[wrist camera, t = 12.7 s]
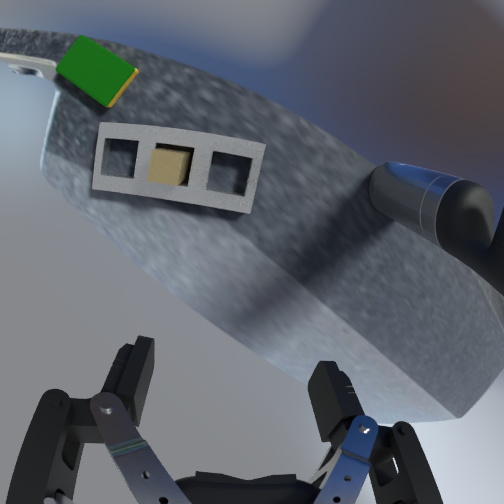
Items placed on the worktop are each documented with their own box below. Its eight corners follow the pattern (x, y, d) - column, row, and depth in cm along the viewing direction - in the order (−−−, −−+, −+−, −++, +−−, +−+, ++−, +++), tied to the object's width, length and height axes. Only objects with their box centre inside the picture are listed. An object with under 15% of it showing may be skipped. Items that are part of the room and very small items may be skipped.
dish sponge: (87, 37, 27) (80, 33, 25) (140, 71, 32) (135, 68, 29) (61, 72, 29) (54, 69, 27) (111, 108, 33) (105, 107, 31)
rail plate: (263, 144, 37) (265, 144, 35) (248, 209, 41) (250, 213, 39) (107, 122, 34) (100, 122, 31) (99, 186, 37) (92, 189, 35)
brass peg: (191, 152, 37) (183, 154, 31) (185, 178, 38) (177, 186, 32) (164, 147, 36) (152, 149, 30) (160, 174, 38) (146, 180, 31)
